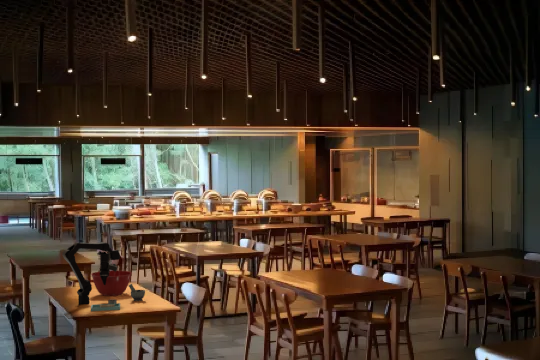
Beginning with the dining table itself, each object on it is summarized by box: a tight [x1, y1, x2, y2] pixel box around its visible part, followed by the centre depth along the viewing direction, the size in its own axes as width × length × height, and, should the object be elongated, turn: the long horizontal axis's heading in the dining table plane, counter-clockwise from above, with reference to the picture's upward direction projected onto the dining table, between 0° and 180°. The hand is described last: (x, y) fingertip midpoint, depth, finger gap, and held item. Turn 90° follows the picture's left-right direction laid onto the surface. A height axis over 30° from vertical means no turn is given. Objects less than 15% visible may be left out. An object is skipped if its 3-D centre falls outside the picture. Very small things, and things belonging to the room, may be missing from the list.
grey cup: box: [107, 298, 118, 304], centre depth 464 cm, size 5×5×4 cm
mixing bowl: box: [90, 270, 133, 297], centre depth 508 cm, size 28×28×16 cm
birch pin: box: [100, 304, 115, 307], centre depth 454 cm, size 5×2×9 cm
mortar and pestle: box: [128, 283, 146, 302], centre depth 481 cm, size 11×9×12 cm
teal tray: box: [90, 302, 121, 312], centre depth 454 cm, size 18×12×2 cm, turn 102°
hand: (104, 284), depth 481 cm, fingers open, 9 cm apart
